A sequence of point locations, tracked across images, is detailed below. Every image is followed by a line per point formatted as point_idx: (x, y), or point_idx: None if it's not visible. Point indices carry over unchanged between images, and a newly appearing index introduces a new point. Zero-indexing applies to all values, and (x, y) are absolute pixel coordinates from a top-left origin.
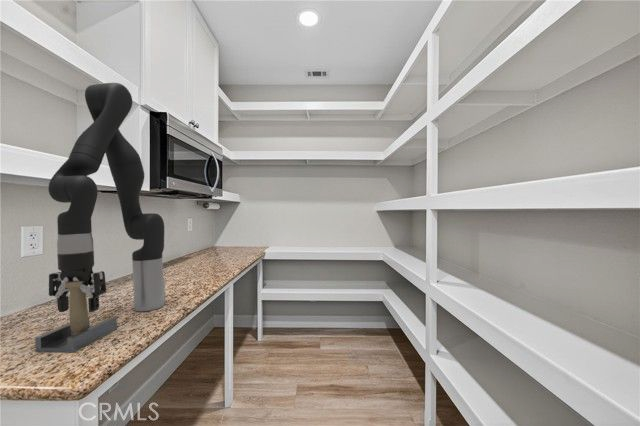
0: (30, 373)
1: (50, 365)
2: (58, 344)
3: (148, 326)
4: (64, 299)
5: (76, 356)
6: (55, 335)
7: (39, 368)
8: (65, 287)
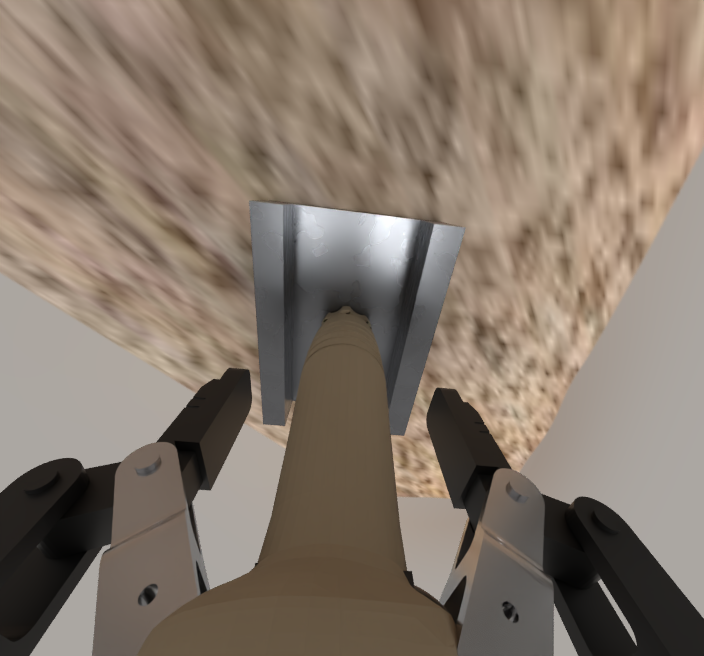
0: None
1: None
2: None
3: (590, 200)
4: (215, 453)
5: (420, 418)
6: (287, 374)
7: None
8: None
